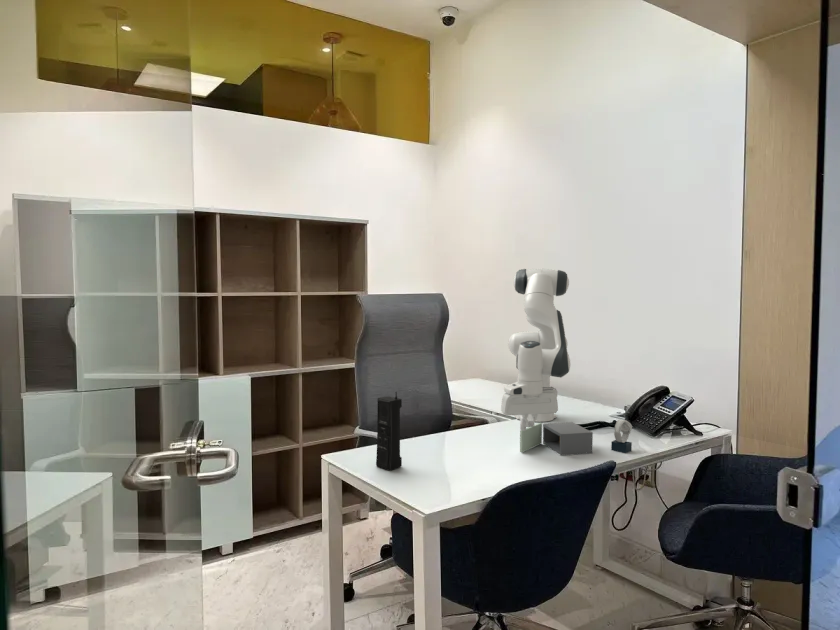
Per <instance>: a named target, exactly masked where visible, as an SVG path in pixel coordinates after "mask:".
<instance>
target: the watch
mask: <svg viewBox="0 0 840 630" xmlns="http://www.w3.org/2000/svg"><path fill="white" fill-rule="evenodd" d="M632 429H633V426H632V424H631V422H630V421H628V420H626V419H618V420H617V421H616V422H615V425H614V429H613V430H614V432H613V435H614V440H613V441H611V445H610V446H611V449H610V451H614V452H617V453H623V454H628V453H630V452H632V449H633V448H632V447H633V446H632V443H633V442H632V441H628V440H629V437H630V434H631V432H632Z"/></svg>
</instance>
